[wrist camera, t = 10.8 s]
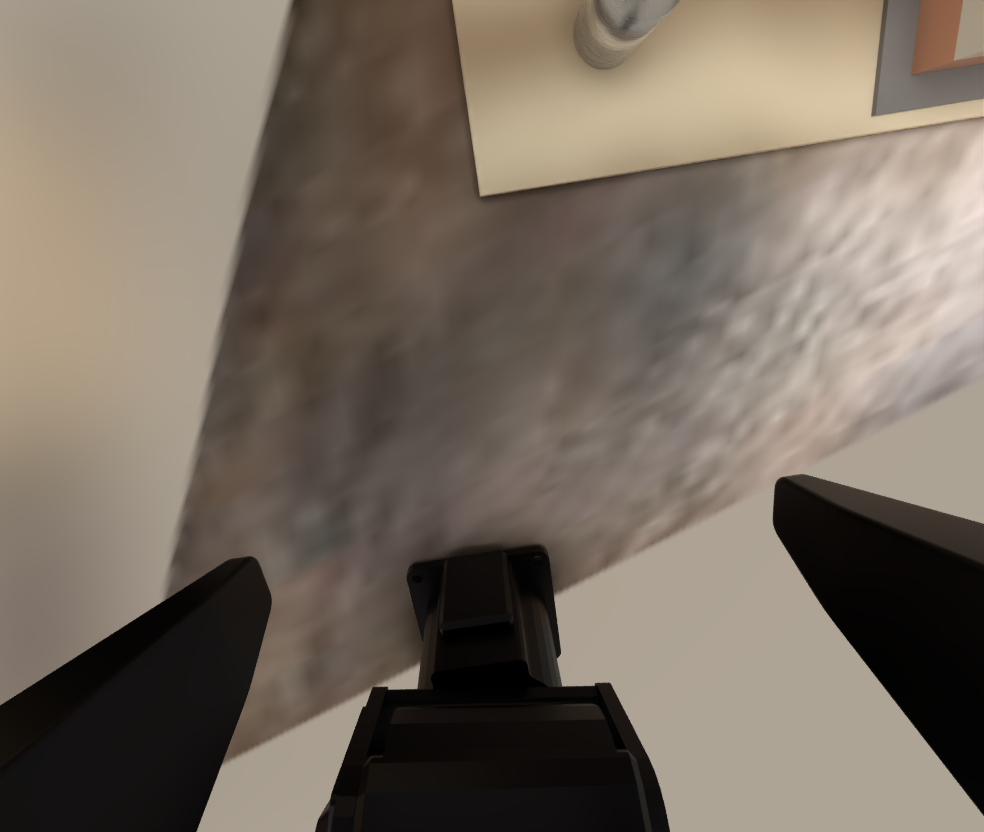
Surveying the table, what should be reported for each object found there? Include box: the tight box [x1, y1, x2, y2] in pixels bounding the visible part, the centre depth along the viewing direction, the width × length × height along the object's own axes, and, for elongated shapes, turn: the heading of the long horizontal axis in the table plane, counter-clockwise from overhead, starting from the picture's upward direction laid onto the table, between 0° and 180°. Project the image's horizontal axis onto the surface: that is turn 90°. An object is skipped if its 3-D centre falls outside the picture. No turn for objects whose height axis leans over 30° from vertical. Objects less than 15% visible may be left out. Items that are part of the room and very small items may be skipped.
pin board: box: [452, 0, 984, 197], centre depth 16 cm, size 8×21×1 cm, turn 98°
